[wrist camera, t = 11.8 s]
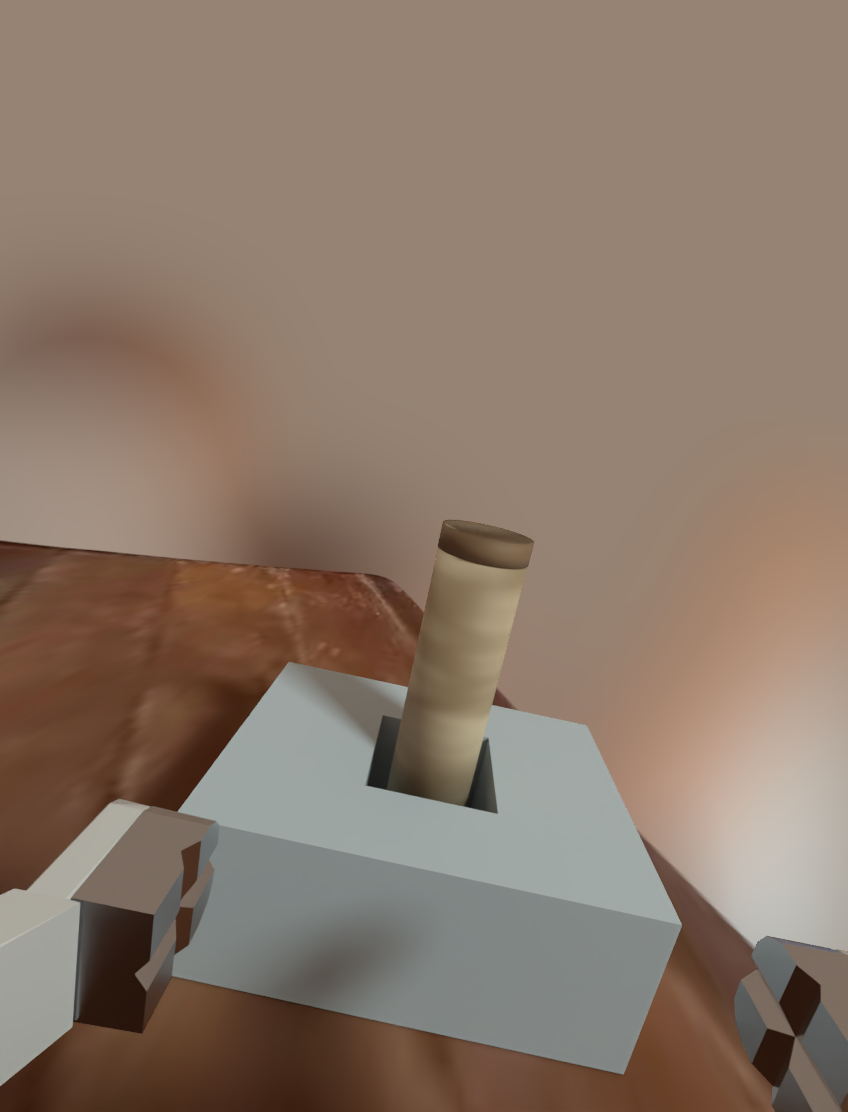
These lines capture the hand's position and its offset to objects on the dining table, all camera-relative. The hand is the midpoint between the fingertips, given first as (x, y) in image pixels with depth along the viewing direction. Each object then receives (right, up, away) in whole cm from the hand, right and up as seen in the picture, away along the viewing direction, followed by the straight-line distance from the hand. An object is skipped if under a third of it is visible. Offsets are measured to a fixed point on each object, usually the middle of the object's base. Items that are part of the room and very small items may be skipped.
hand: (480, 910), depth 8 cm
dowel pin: (-1, -5, +12) cm, 13 cm away
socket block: (-2, -7, +12) cm, 14 cm away
